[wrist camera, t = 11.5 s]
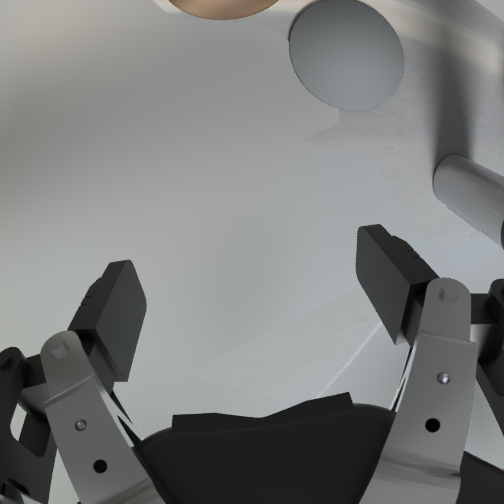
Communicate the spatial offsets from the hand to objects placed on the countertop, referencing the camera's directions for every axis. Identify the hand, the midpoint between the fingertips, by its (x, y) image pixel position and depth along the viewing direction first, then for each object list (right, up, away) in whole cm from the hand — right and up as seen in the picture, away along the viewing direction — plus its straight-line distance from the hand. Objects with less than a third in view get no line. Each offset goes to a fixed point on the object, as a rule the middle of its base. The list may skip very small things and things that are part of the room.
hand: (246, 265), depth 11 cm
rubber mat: (+13, +27, +23) cm, 38 cm away
